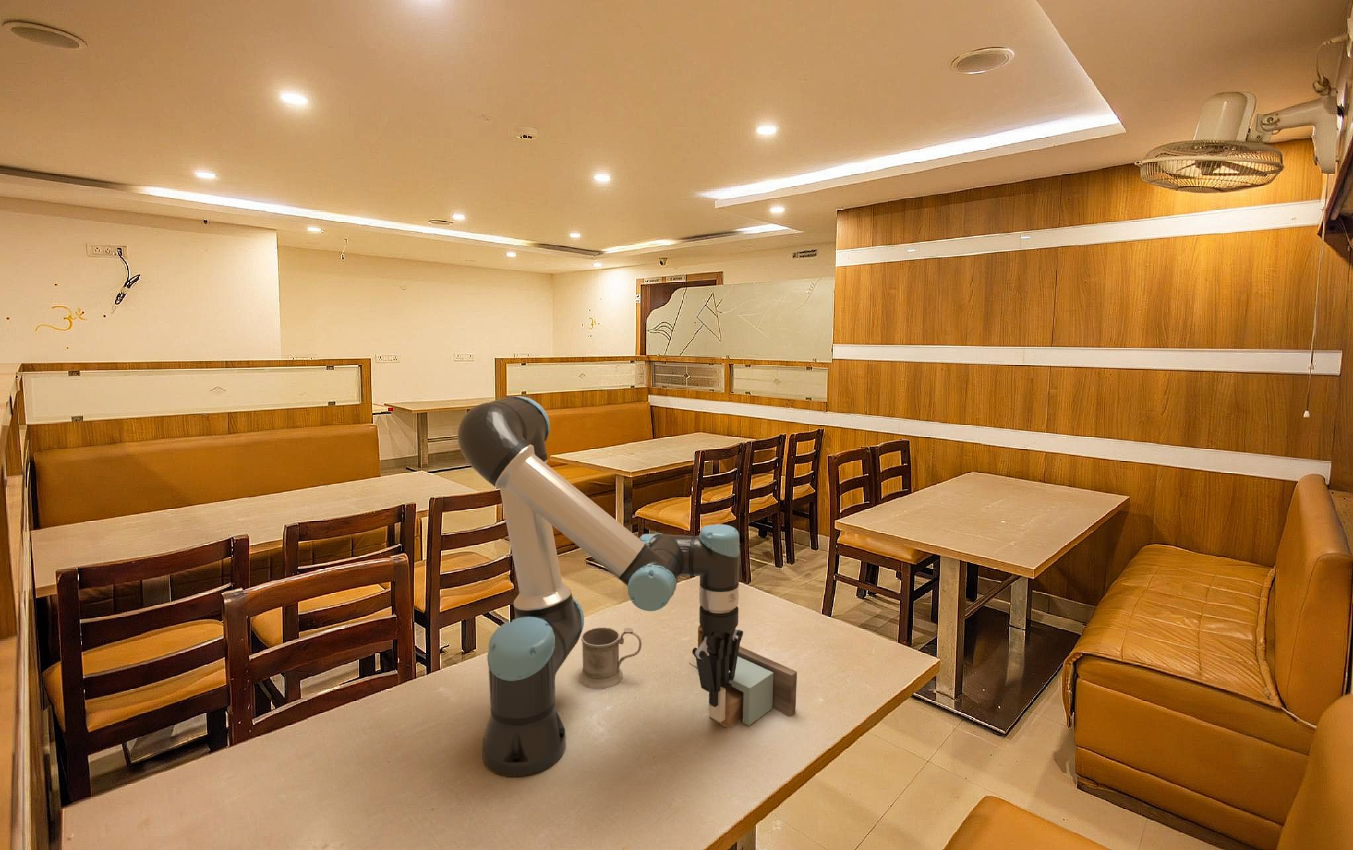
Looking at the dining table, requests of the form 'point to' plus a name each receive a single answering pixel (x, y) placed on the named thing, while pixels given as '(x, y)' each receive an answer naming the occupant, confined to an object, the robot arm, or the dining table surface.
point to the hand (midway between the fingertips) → (717, 717)
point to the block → (753, 689)
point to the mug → (603, 657)
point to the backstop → (777, 681)
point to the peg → (732, 707)
